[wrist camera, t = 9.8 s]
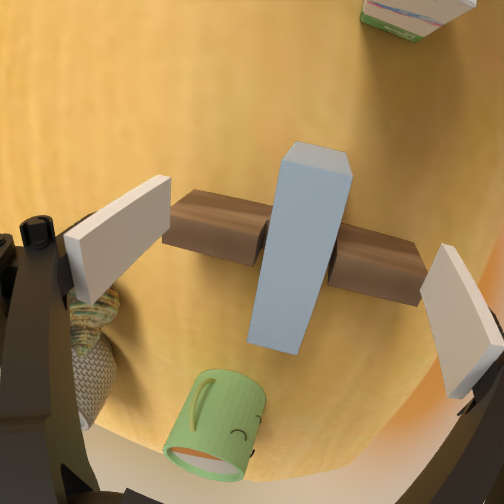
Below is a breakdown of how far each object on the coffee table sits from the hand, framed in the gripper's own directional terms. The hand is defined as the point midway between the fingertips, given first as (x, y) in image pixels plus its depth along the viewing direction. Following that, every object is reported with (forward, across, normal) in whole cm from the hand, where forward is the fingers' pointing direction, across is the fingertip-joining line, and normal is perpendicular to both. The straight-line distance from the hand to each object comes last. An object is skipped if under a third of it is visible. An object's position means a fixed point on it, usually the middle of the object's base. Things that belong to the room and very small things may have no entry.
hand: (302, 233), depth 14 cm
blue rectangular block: (+12, 0, -5) cm, 13 cm away
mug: (+12, -4, -30) cm, 33 cm away
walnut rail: (+12, 0, -5) cm, 13 cm away
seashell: (+12, -23, -17) cm, 31 cm away
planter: (+11, -26, -31) cm, 42 cm away
